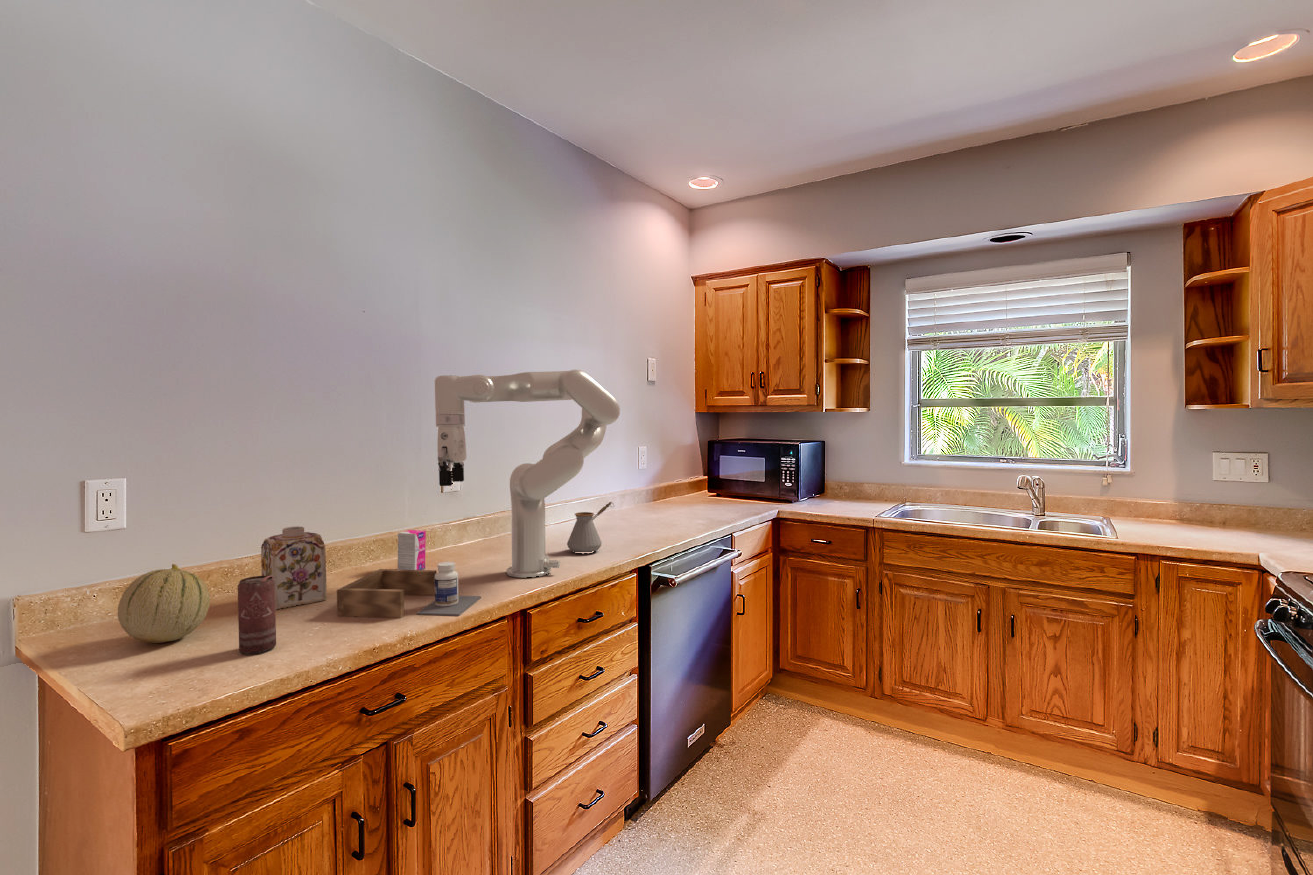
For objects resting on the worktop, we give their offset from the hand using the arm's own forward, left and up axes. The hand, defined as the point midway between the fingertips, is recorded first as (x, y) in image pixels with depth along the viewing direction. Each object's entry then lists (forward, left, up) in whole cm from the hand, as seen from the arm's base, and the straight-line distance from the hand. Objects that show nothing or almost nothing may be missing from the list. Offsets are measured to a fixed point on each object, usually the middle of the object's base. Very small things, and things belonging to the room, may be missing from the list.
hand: (452, 483), depth 172 cm
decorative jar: (+32, +21, -27) cm, 47 cm away
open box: (+7, +22, -27) cm, 35 cm away
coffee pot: (-31, -43, -27) cm, 60 cm away
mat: (-8, +22, -27) cm, 36 cm away
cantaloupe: (+40, +49, -27) cm, 69 cm away
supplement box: (+17, -10, -27) cm, 33 cm away
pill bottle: (-7, +22, -27) cm, 35 cm away
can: (+18, +52, -27) cm, 61 cm away
